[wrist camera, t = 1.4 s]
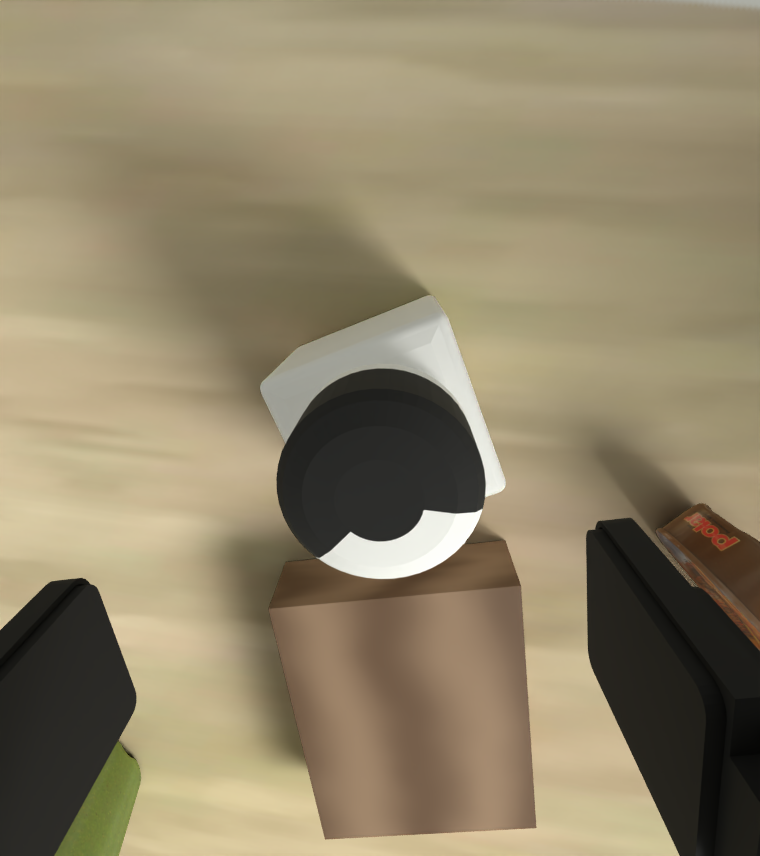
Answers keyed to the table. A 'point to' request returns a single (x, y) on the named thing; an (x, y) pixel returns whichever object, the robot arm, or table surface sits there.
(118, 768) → the plant pot
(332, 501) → the medicine bottle
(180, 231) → the table surface
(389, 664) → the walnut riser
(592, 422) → the table surface
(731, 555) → the tin
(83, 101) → the table surface
